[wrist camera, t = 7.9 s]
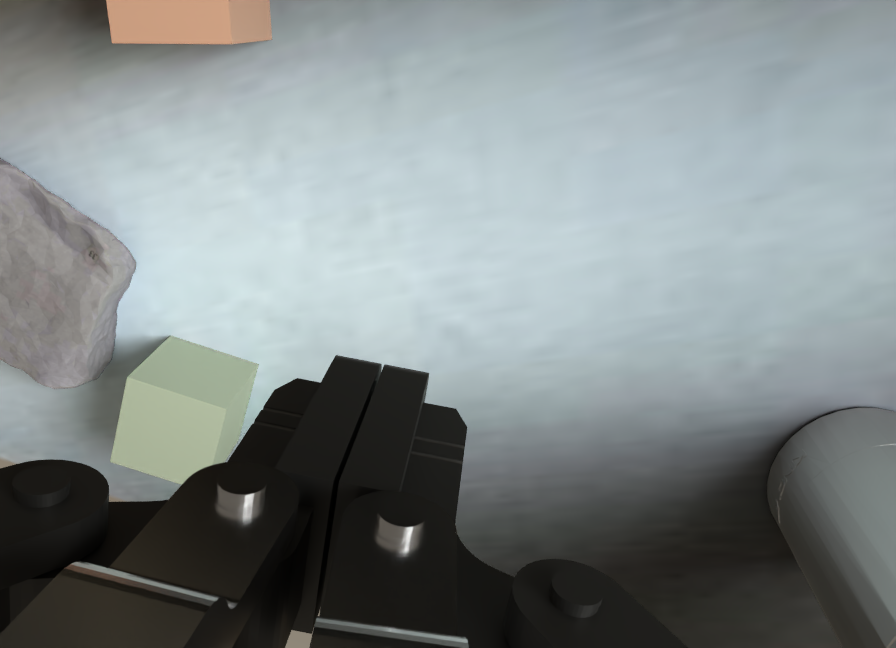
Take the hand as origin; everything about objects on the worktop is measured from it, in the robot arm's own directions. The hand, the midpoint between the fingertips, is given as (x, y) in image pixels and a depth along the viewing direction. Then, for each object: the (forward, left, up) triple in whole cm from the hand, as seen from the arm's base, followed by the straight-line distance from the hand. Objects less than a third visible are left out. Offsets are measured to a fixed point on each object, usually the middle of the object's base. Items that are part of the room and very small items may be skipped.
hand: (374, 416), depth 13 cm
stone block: (+22, +10, -29) cm, 38 cm away
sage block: (+12, +16, -29) cm, 35 cm away
